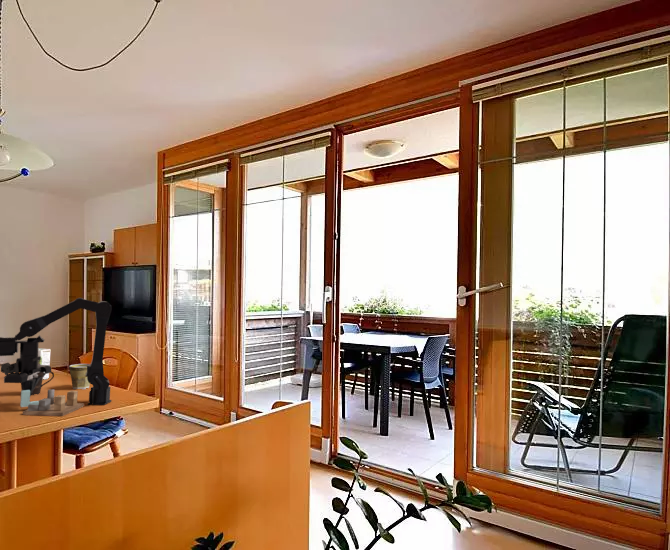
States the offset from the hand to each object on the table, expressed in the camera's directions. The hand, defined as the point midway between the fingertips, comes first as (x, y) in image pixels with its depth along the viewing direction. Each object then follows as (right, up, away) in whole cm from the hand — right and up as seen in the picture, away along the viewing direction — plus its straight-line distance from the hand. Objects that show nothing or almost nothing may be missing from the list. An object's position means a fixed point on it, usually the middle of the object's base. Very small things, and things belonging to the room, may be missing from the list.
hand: (28, 397), depth 174 cm
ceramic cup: (-1, -6, +37) cm, 38 cm away
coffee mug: (-12, -5, +22) cm, 26 cm away
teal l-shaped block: (+3, -3, -2) cm, 4 cm away
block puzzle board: (+11, -4, -3) cm, 12 cm away
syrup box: (-29, -5, +52) cm, 60 cm away
